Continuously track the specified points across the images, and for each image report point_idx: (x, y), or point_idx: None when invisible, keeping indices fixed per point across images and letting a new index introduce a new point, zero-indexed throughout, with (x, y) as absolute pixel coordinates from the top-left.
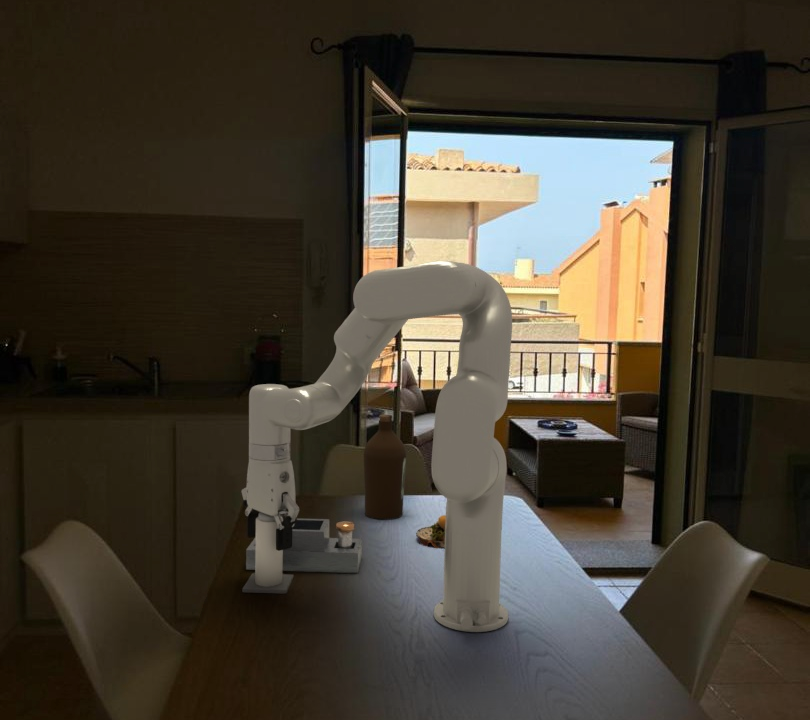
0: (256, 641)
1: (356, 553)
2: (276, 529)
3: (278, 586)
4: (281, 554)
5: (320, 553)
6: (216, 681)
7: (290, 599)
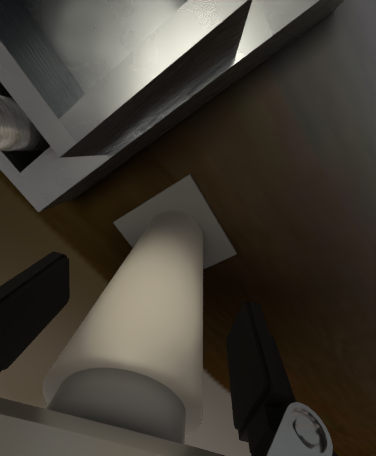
0: (300, 379)
1: None
2: (242, 437)
3: (209, 246)
4: (200, 267)
5: (225, 72)
6: None
7: (260, 265)
